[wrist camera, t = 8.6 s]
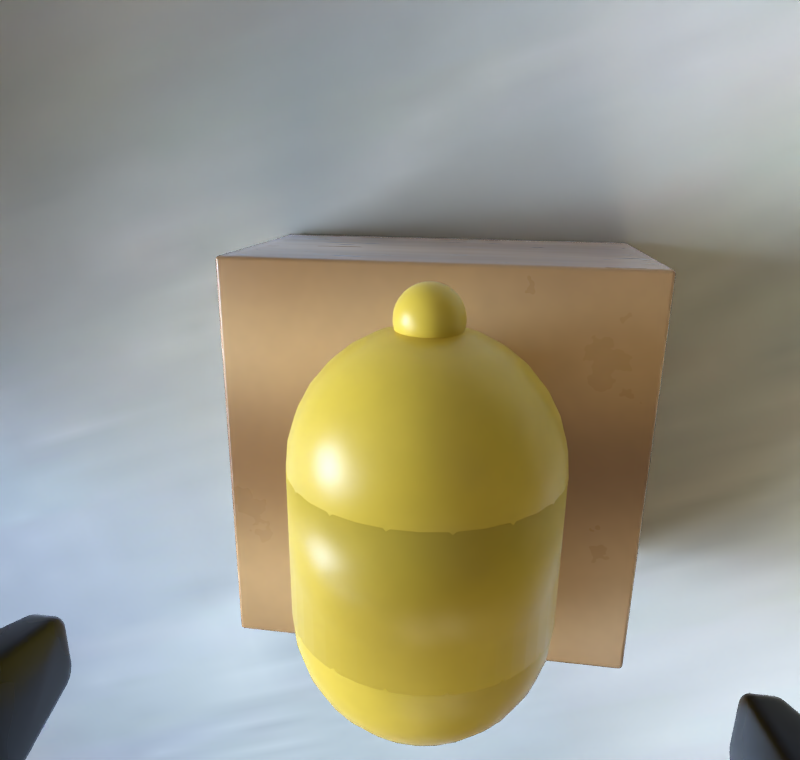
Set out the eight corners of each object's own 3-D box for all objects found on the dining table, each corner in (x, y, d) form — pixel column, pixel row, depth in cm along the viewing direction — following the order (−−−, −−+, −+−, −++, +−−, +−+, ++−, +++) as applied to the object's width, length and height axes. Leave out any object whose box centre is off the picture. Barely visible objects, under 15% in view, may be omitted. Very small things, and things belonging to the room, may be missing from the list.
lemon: (528, 655, 15) (559, 860, 11) (323, 642, 16) (269, 835, 11) (560, 264, 13) (620, 316, 8) (312, 259, 13) (235, 307, 8)
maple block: (593, 550, 20) (622, 670, 15) (299, 525, 21) (240, 628, 16) (628, 242, 17) (677, 270, 12) (287, 234, 18) (213, 255, 13)
